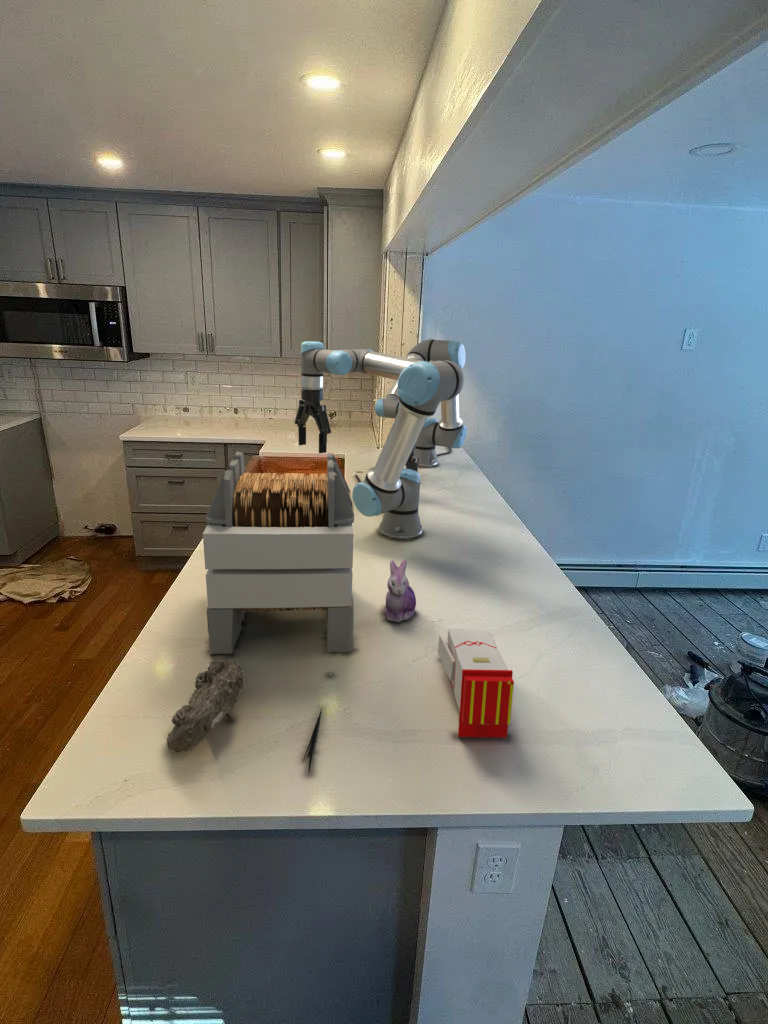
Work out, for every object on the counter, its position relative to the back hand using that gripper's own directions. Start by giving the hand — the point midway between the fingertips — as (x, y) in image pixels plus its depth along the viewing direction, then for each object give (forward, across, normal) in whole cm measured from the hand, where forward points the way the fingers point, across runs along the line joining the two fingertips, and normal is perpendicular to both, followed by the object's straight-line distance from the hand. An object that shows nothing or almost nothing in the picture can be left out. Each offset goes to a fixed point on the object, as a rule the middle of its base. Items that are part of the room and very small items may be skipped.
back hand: (403, 493), depth 238 cm
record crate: (0, -58, +89) cm, 106 cm away
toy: (0, -106, +72) cm, 128 cm away
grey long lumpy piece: (0, -82, +118) cm, 144 cm away
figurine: (0, -73, +64) cm, 97 cm away
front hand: (-25, 0, +45) cm, 52 cm away
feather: (0, -95, +102) cm, 139 cm away
